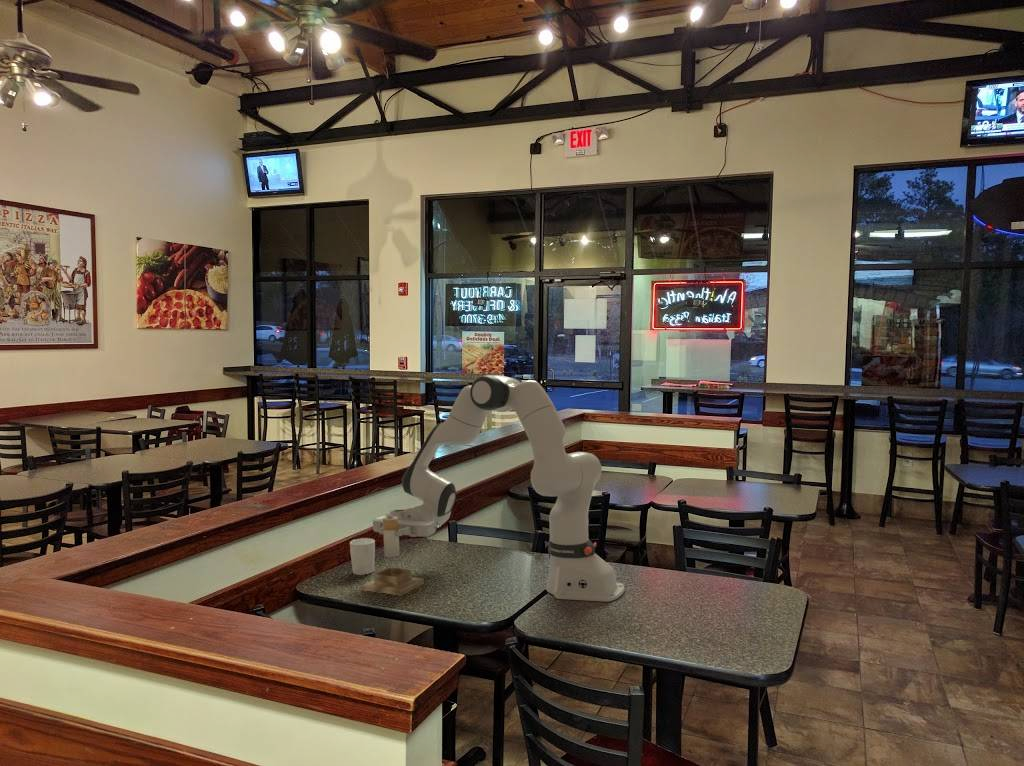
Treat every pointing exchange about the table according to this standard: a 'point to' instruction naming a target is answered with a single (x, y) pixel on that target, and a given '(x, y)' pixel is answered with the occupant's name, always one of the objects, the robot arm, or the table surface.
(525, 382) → the robot arm
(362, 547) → the white cup
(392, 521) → the battery cell
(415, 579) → the charging dock
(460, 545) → the table surface
